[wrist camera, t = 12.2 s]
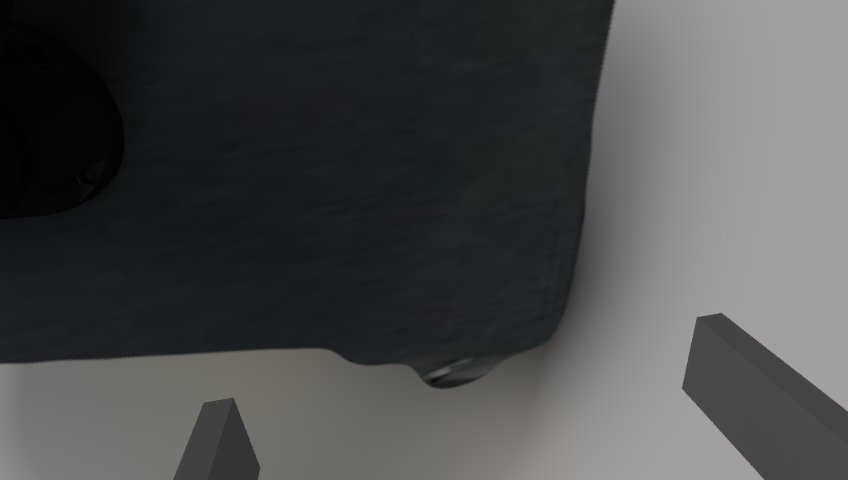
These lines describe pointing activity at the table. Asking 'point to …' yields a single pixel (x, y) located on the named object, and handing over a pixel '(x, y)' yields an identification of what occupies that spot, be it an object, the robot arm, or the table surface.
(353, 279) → the table surface
